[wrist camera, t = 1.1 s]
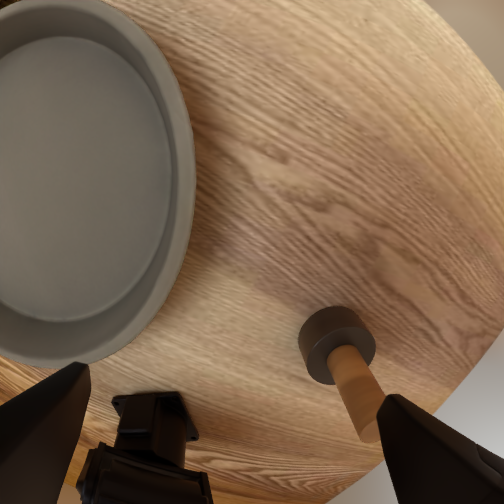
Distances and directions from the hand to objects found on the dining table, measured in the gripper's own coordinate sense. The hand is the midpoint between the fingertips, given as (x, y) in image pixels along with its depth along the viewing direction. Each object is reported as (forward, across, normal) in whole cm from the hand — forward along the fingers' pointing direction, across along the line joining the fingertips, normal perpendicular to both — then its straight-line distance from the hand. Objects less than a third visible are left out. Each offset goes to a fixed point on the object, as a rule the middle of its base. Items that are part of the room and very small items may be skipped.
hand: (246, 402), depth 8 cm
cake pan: (+14, +15, -2) cm, 20 cm away
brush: (+14, -9, +5) cm, 17 cm away
